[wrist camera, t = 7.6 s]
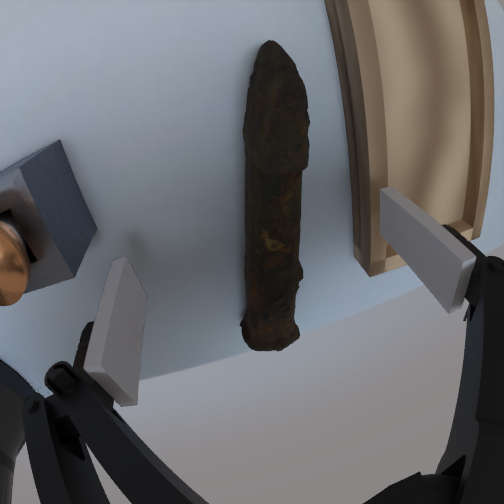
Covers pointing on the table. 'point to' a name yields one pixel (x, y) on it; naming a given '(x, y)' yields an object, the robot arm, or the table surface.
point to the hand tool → (273, 197)
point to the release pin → (12, 260)
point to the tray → (415, 112)
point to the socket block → (48, 214)
